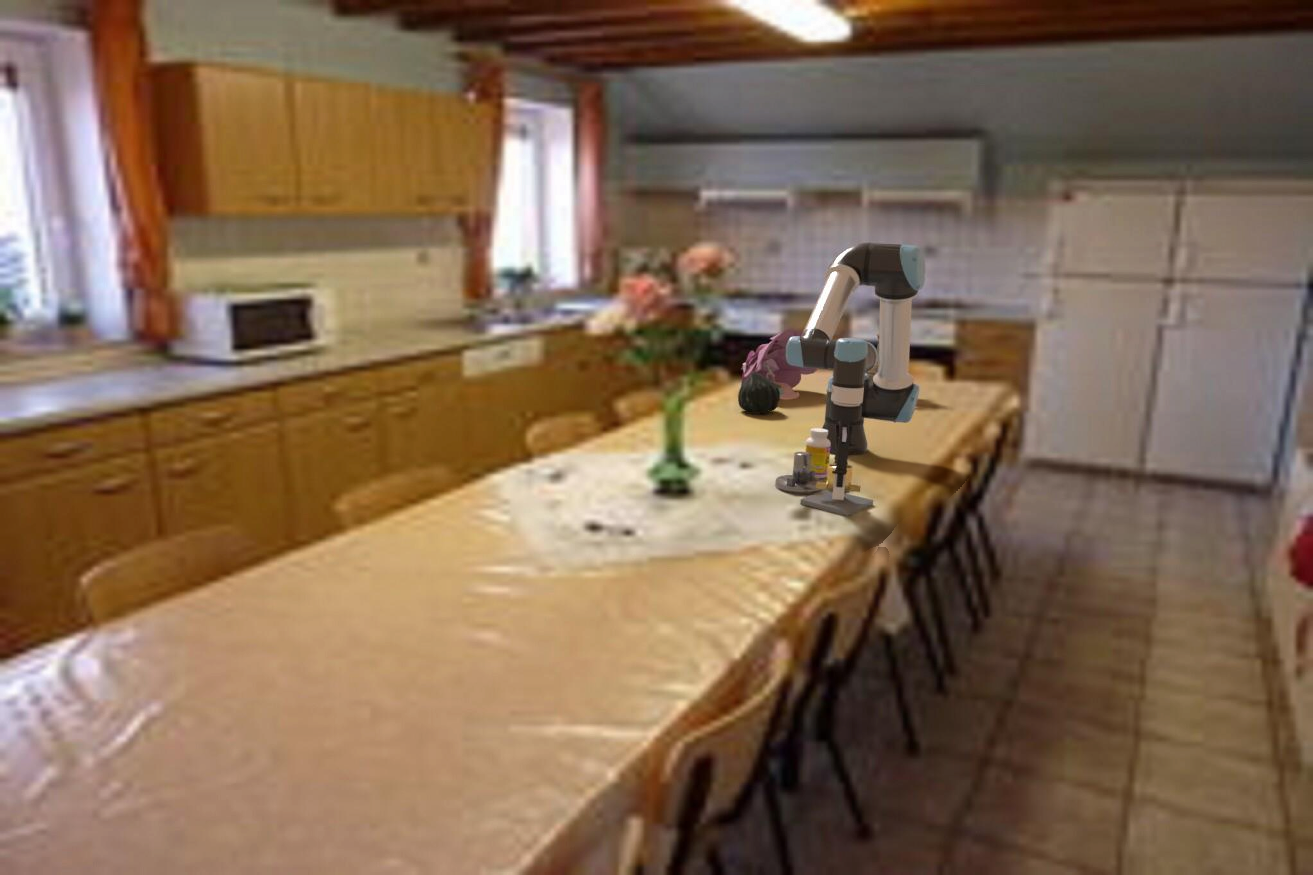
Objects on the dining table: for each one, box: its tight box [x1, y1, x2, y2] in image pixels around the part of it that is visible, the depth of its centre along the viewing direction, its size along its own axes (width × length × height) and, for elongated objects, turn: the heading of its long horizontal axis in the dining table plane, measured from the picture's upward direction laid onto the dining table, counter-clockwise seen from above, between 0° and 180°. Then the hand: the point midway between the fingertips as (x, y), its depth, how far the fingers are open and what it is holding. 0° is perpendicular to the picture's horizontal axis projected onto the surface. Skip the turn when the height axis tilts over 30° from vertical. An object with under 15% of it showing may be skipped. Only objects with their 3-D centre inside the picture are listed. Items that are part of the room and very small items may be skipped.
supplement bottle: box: [804, 427, 831, 479], centre depth 256 cm, size 7×7×13 cm
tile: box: [800, 489, 874, 517], centre depth 233 cm, size 13×13×1 cm
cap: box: [816, 462, 861, 494], centre depth 231 cm, size 11×6×6 cm, turn 81°
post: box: [774, 451, 825, 496], centre depth 245 cm, size 13×13×9 cm
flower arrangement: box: [740, 328, 818, 401], centre depth 367 cm, size 35×24×28 cm
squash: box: [737, 372, 781, 415], centre depth 335 cm, size 14×15×15 cm
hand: (837, 495), depth 232 cm, fingers closed on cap, 6 cm apart
